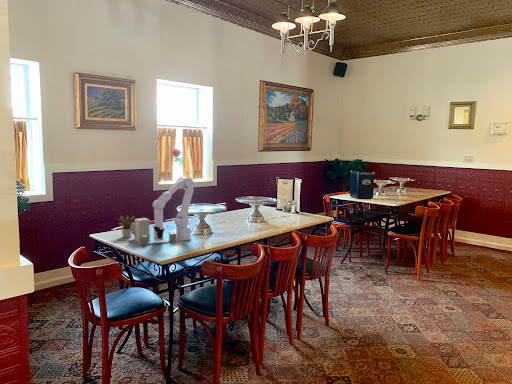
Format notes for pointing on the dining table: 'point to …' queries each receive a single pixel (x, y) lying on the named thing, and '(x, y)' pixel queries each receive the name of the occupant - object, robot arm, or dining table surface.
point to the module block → (157, 236)
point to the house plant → (126, 227)
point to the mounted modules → (145, 238)
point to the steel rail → (157, 242)
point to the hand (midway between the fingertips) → (158, 237)
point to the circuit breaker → (140, 228)
